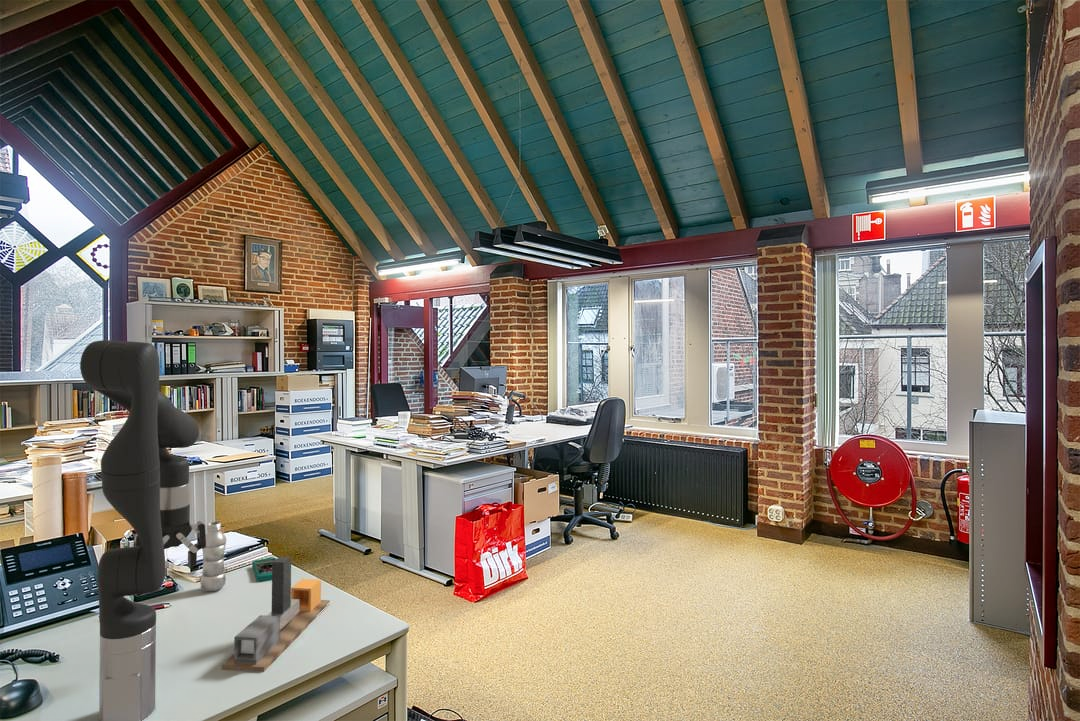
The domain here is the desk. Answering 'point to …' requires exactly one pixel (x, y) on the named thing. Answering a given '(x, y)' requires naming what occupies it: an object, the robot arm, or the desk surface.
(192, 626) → the desk surface
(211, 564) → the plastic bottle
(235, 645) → the bolt guide base
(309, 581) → the far socket
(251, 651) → the slide bolt
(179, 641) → the desk surface
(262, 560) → the digital multimeter
